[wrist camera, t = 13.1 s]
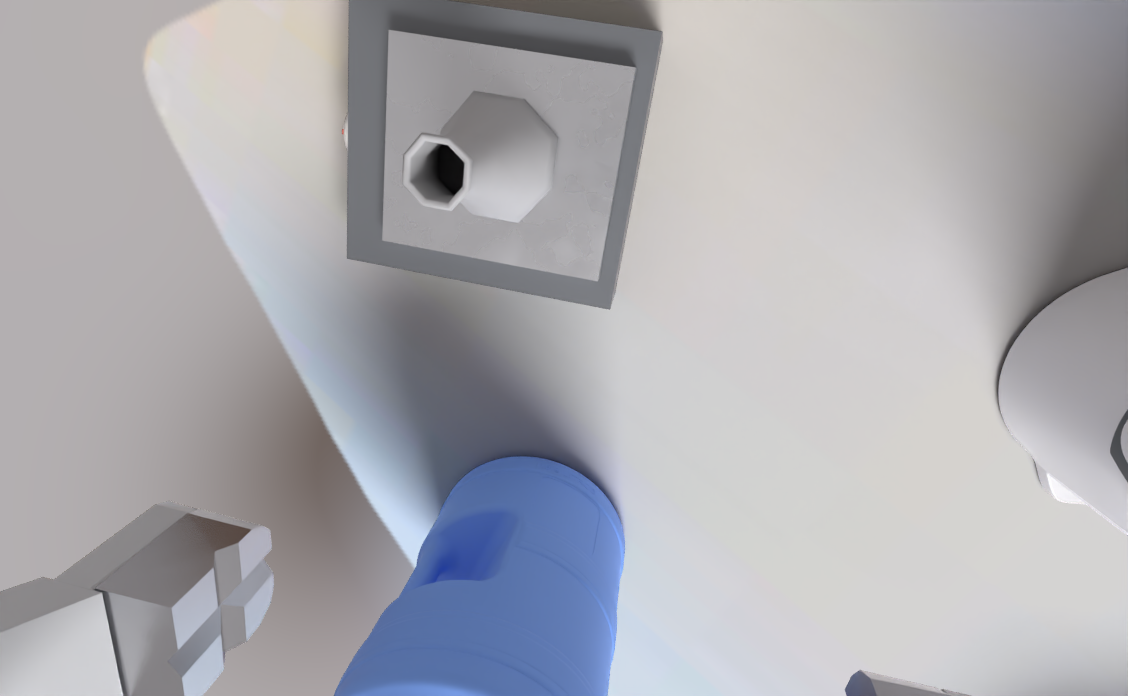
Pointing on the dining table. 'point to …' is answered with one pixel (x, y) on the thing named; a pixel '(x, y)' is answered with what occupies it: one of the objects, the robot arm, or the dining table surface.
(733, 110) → the dining table surface
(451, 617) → the water jug
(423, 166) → the flask
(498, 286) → the base
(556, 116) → the pan
